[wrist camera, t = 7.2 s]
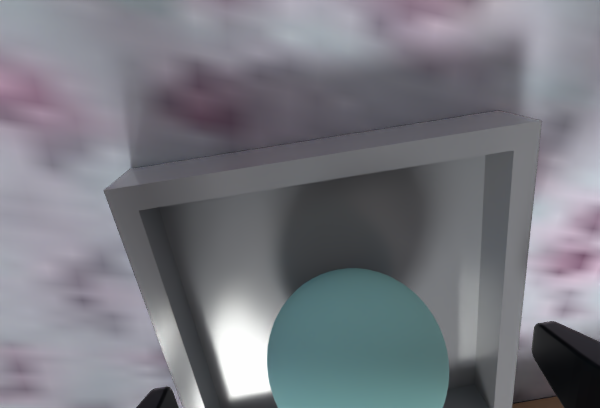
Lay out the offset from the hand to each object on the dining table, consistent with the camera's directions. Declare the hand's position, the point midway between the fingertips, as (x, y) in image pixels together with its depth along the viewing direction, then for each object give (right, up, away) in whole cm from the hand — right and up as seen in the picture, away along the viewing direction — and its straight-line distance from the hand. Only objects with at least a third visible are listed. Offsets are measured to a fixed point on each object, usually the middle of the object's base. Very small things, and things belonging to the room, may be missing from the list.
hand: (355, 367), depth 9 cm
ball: (0, +1, +2) cm, 2 cm away
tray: (0, +1, +3) cm, 3 cm away
